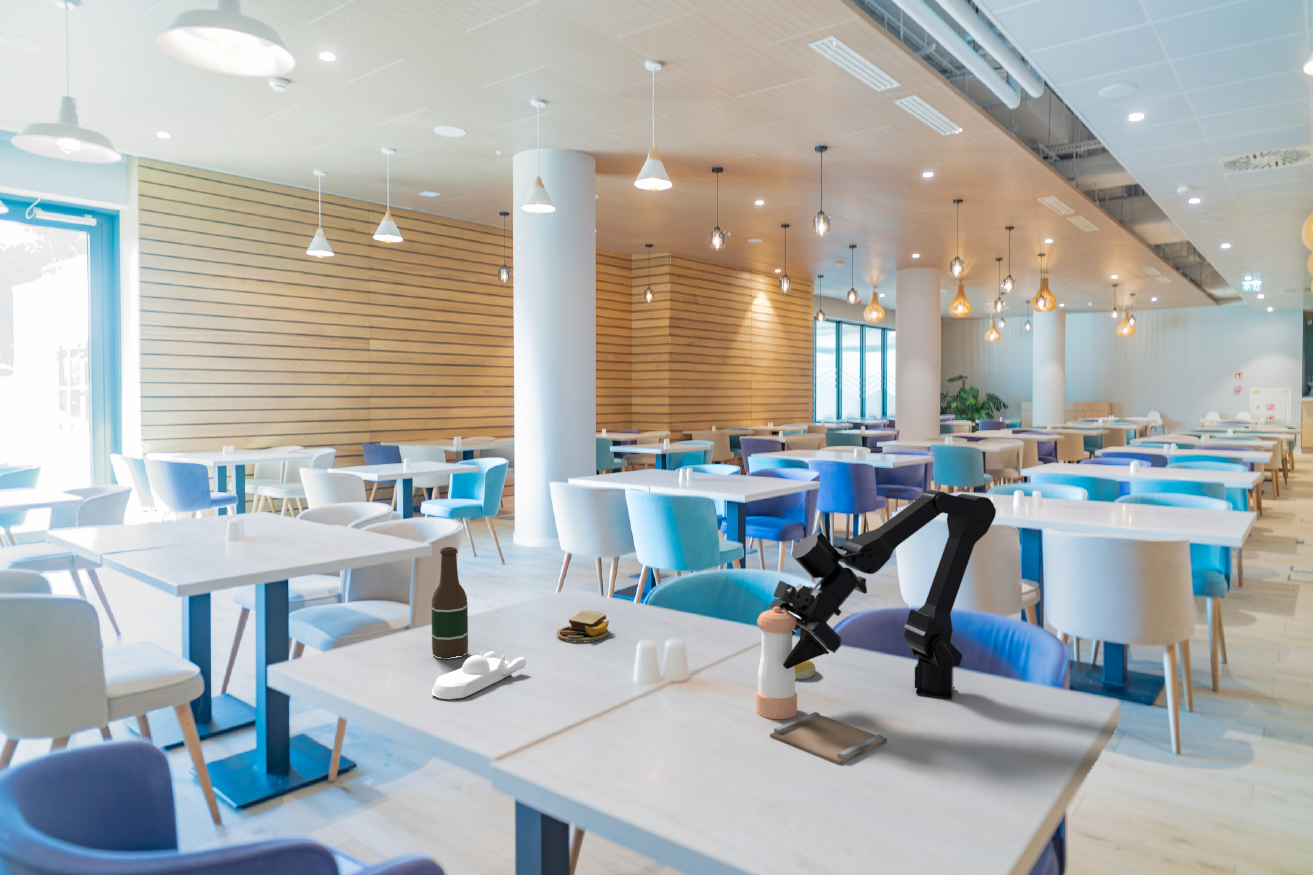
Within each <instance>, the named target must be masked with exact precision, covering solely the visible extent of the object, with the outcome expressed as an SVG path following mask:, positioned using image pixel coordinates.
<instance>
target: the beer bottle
mask: <svg viewBox="0 0 1313 875" xmlns="http://www.w3.org/2000/svg"><path fill="white" fill-rule="evenodd" d="M439 554H441V558H440V559H441V560H440V561H441V562H440V578H439V583H438V585H437V587H436V589H435V590H434V592H433V595H432V598H431V647H432V648H431V649H432V655H433V654H434V655H435V656H437V657H441V658H451V657H456V656H463V655H464V654H465V653H467V654H468V652H469V651H468V650H469V623H468V622H469V621H468V620H469V618H468V615H469V614H468V613H469V612H468V610H469V608H468V598H467V593H466V592H465V589H464V588H463V586H462V585H461V584H460V579H459V574H458V573H459V572H458V560H457V554H458V549H457V547H454V546H446V547H442V548H441V549H440V552H439ZM435 656H434V657H435ZM464 656H465V655H464ZM464 656H463V657H464Z"/></svg>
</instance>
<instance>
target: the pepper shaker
mask: <svg viewBox="0 0 1313 875" xmlns="http://www.w3.org/2000/svg"><path fill="white" fill-rule="evenodd" d="M756 623H757V626H758V628H759V629H760V630H761V649H762V650H761V652H760V653H761V654H760V660H759V666H758V673H757V674H758V676H757V677H758V678H757V679H758V689H757V691H756V705H755V706H756V713H757V714H758V715H759V716H761V717H763V718H767V719H770V720H786V719H787V720H788V719H791V718H794V717H795V716H796V715H797V714H798V694H797V692H796V679H795V668H794V666H793V667H791V668H789V669H786V668H785V667H784V666H783V663H784V662H785V660H786V658H787V657H788V655H789V654H790V653H791V651H792V650H793V636H792V631H795V630H794V629H795V627H796V624H797V622H796V619H795V617H794V615H793V614H791V613H789V612H787V611H784V610H782V609H781V608H780V607H773V609H772V610H771V609H769V610H766V611H765V610H764V611H762V612H761V613H760V614H759V616H758V618H757V621H756Z"/></svg>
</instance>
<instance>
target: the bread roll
mask: <svg viewBox="0 0 1313 875" xmlns="http://www.w3.org/2000/svg"><path fill="white" fill-rule="evenodd" d="M794 668H795V680H806V679H810V678H811V677H813V676H815V674H816V665H815V663H813V661H811V659H810V660H807V661H805V662H803V663H800V664H798V665H796V666H794Z"/></svg>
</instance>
